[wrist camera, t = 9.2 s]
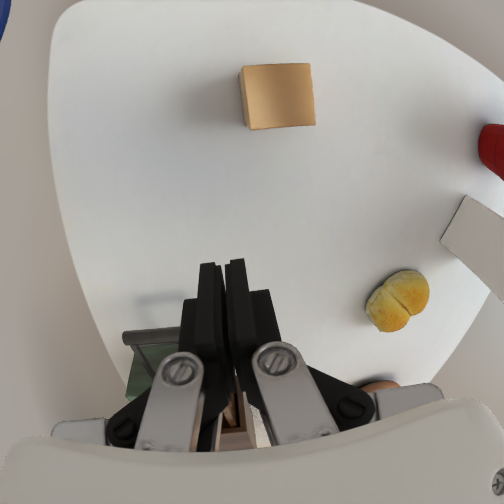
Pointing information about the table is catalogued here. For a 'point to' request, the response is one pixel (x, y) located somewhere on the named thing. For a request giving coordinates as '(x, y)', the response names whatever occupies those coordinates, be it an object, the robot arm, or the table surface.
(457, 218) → the milk carton
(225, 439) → the cabinet
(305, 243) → the table surface
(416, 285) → the bread roll
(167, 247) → the table surface
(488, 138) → the plastic cup
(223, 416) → the drawer
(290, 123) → the block
